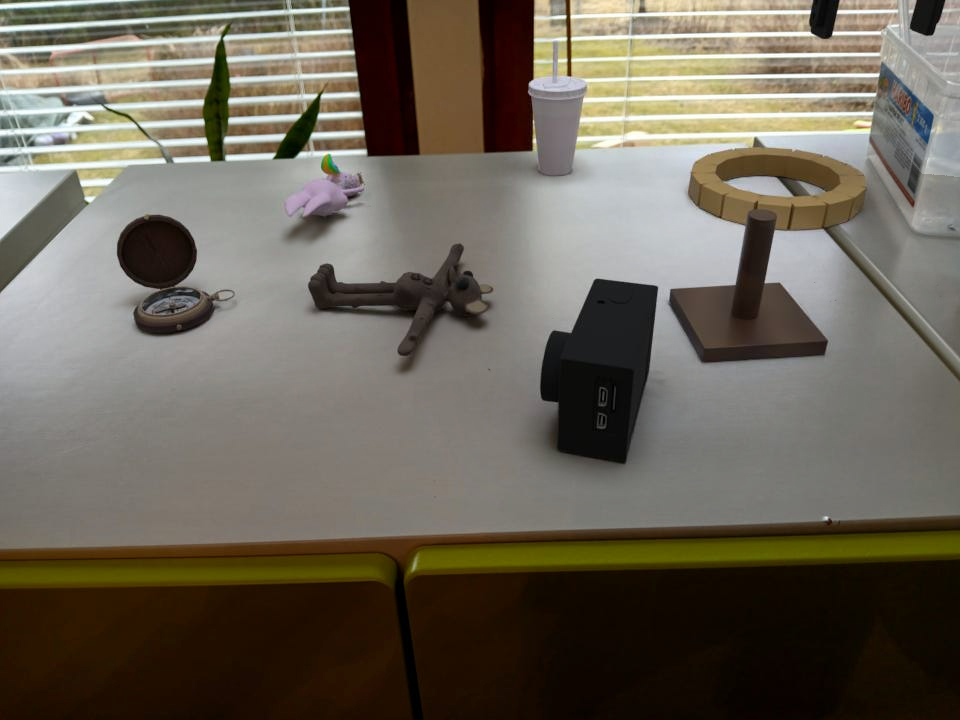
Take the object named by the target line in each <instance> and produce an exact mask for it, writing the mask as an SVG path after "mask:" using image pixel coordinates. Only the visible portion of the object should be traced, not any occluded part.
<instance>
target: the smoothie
mask: <svg viewBox="0 0 960 720" xmlns="http://www.w3.org/2000/svg"><path fill="white" fill-rule="evenodd" d="M558 71H559V40H553V41H552V71H551V73H552V74H551V75H549V76H541V77H537V78H534V79H532V80H531V81H529V83H528V90H527V94H529V96H530V97H531V107H532V115H533V125H534V133H535V140H536V141H535V142H536V151H537V152H536V153H537V161H538V169H539V173H541V174H543V175H545V176H553V177H560V176H566V175H569V174H571V172H572V171H573V166H574V159H575V155H576V154H575V153H576V148H577V141H578V134H579V128H580V123H581V116H582V110H583V104H584V97H585V96H586V95H587V94H588V82H587V81H586V80H585V79H583V78H580V77H576V76H567V75H558V74H559V72H558Z"/></svg>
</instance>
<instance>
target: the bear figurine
mask: <svg viewBox="0 0 960 720" xmlns="http://www.w3.org/2000/svg"><path fill="white" fill-rule="evenodd" d="M464 250H465V246H464V245H463V244H462V243H459V242H458V243H454V244H452V246H451V247H450V249H449V253H448V255H447V257H446V259H445V260H444V262H443V263H442V265H441V266H440V268H439V269H438V270H437V272H436V274H435V275H434V276H433V278H432V277H429V276H426V275H424V274H422V273H420V272H413V271H406V272H404V273H402V274H401V276H400V277H398V279H397V280H396V281H395V282H387V281H385V280H384V281H383V280H381V281H380V282H362V283H361V282H359V283H358V282H357V283H354V282H353V283H346V282H343V281H337V277H336V274H335V268H334V266H333V264H331V263H323V264H320V265H319V267H318V269H317V271H316V273H314V274H313V275H311V276H310V279H309V281H308V283H307V288H308V291H309V293H310V295H311V297H312V300H313V303H314V305H315V308H317V309H319V310H322V309H326V308H330V307H335V308H339V307H352V309H357V308H360V307H386V306H387V307H388V306H389V307H392V306H395V307H397V308H398V309H400V310H404V311H414V310H415V311H416V312H415V314H414V317H413V319H412V322H411V324H410V326H409V328H408V331H407V333H406V334H405V336H404V337H403V339H402V340H401V342H400V344H398V346H397V354H398V355H399V356H401V357H407V356H409V355H412V354H413V353H414V351H415V349H416V347H417V346H418V344H419V342H420V339H421V338H422V335H423V334H424V332H425V330H426V327H427V326H428V323H429V321H430V320H431V319H432V318H433V316H434V313H435V312H439V311H440V310H442V309H443V308H444V306H445V303H446V302H449V304H450V306H451V307H452V309H453V310H454V311H455V312H456V313H457V314H458V315H461V316H464V317H467V316H472V315H480V314H484V313H486V312H487V311H488V310H489V307H490V306H489V305H488V304H486V303H485V301H483V296H482V295H487V294H488V295H489V294H492V293H493V292H494V287H493V286H491V285H488V284H479V282H478V281H477V280H476V278H475V277H474V273H473V272H472V271H471V270H465V271H463V272H462V273H461V272H460V270H459V263H460V261H461V258H462V255H463V253H464Z"/></svg>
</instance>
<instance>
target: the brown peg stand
mask: <svg viewBox="0 0 960 720" xmlns="http://www.w3.org/2000/svg"><path fill="white" fill-rule="evenodd" d="M776 220H777V214H776V213H774V212H773V211H770V210H765V209H754V210H750V211H749V212H748V213H747V219H746V225H745V226H744V231H743V237H742V244H741V249H740V256H739V261H738V268H737V273H736V279H735V284H727V285H711V286H697V287H694V286H693V287H679V288H678V287H677V288H670V289H669V300H668V302H669V304H670V306H671V308H672V309H673V311H674V314H675V315H676V317H677V319H678V320H679V322H680V324H681V326H682V327H683V330H684V331H685V333H686V335H687V337H688V338H689V340H690V342H691V344H692V346H693V347H694V349H695V351H696V353H697V355H698V356H699V358H700V360H701V362H702V363H707V362H708V363H709V362H724V361H726V362H727V361H741V360H757V359H771V358H788V357H805V356H806V357H807V356H819V355H820V356H821V355H825V354H826V351H827V348H828V343H829V339H827V337H826V336H825V335H824V334H823V333H822V331H821V330H820V329H819V328H818V326H817V325H816V324H815V323H814V322H813V320H812V319H811V318H810V316H809V315H808V314H807V313H806V312H805V311H804V309H803V308H802V307H801V306H800V304H799V303H798V302H797V301H796V300H795V299H794V298H793V296H792V295H791V294H790V292H788V290H787V289H786V288H785V287H784V285H783V284H782V283H781V282H779V281H778V282H766V279H767V278H766V277H767V273H768V267H769V262H770V256H771V251H772V247H773V240H774V235H775V231H776V229H775V226H776Z"/></svg>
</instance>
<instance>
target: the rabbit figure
mask: <svg viewBox="0 0 960 720" xmlns="http://www.w3.org/2000/svg"><path fill="white" fill-rule="evenodd" d="M320 169H321V171H322V172H323V173H324V174H325V175H327V176H326V178H323V177H321V178H314V179H312V180H309V181H308V182H307V183H305V184H304V185H303V187H302V188H301V189H300V192H298V193H294V194H292V195H289V196H288V197H287V198H286V199H285V201H284V210H285V214H286V215H287V216H288V217H292V216H294V214H296V213H297V212H299V210H300V209H302V208H303V212H302V215H301V216H302V218H307V217H308V216H310V215H313V216H321V217H322V218H326V217H327V216H332V215H333V214H334V213H335V212H340V211H342V210H343V209H345V207H346V206H347V205H348V203H349V199H348V197H355V196H356V195H357V194H358V193H362V192H364V191H365V187H364V186H365V185H366V184H365V180H364V179H363V175H362V171H361V170H360V171H359V172H356V173H355V175H353V174H351V173H349V172H344V171H341V170H340V169H339V167H338V166H337V164H335V163H334V161H333V158H332V154H331V153H327V154H325V155H324V156H323V157H322V160H321V163H320Z"/></svg>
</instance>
